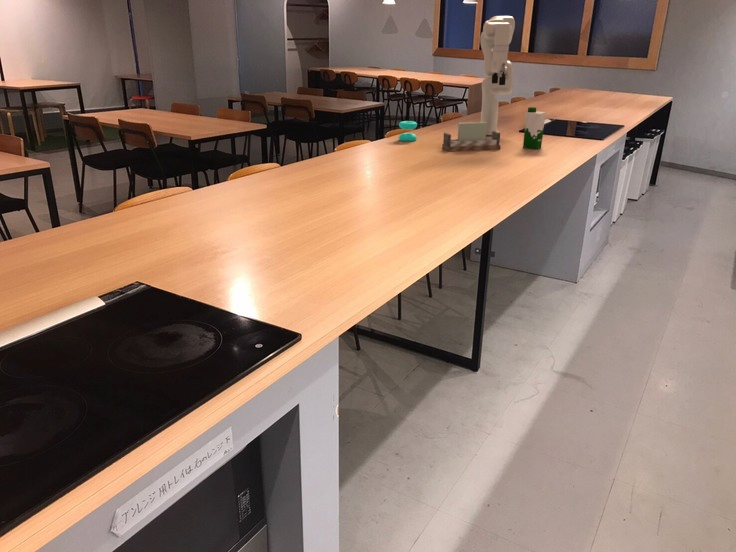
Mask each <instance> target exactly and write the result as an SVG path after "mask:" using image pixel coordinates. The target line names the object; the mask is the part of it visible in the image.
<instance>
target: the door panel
mask: <svg viewBox="0 0 736 552" xmlns="http://www.w3.org/2000/svg"><path fill="white" fill-rule="evenodd" d="M457 127H458V129H457V131H458V132H457V139H458V141H473V140H486V138H487V135H486V128H487V123H486V122H481V121H477V122H476V121H475V122H473V121H472V122H469V121H468V122H467V121H466V122H458V126H457Z"/></svg>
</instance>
